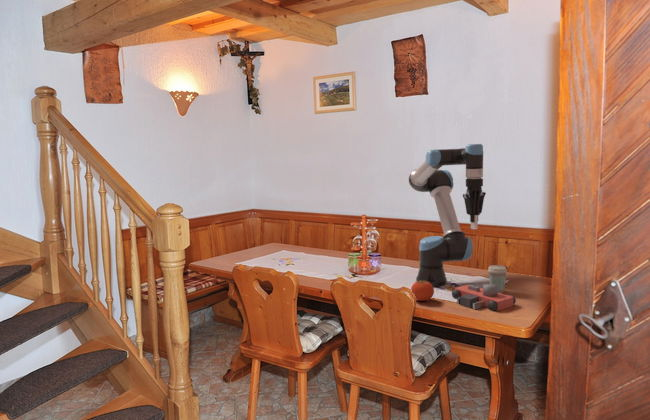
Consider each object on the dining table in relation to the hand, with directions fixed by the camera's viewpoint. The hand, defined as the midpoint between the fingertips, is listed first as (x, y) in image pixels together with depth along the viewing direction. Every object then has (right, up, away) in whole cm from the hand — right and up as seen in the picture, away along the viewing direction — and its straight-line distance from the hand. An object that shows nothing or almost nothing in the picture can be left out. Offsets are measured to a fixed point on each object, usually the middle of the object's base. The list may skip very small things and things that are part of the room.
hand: (474, 228), depth 220 cm
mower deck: (+1, -32, -9) cm, 33 cm away
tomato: (-25, -33, -5) cm, 41 cm away
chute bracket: (-6, -33, -13) cm, 36 cm away
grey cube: (-6, -33, -13) cm, 36 cm away
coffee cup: (+12, -30, +4) cm, 32 cm away
